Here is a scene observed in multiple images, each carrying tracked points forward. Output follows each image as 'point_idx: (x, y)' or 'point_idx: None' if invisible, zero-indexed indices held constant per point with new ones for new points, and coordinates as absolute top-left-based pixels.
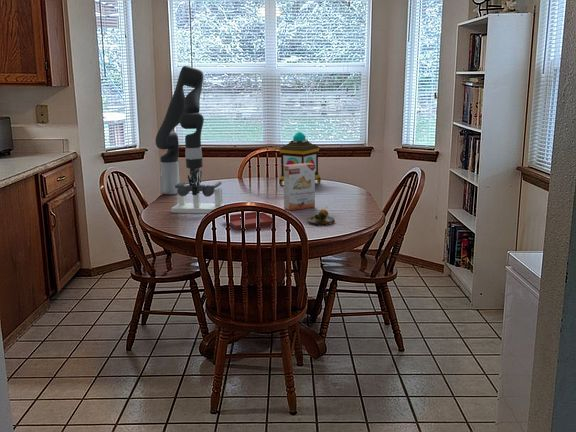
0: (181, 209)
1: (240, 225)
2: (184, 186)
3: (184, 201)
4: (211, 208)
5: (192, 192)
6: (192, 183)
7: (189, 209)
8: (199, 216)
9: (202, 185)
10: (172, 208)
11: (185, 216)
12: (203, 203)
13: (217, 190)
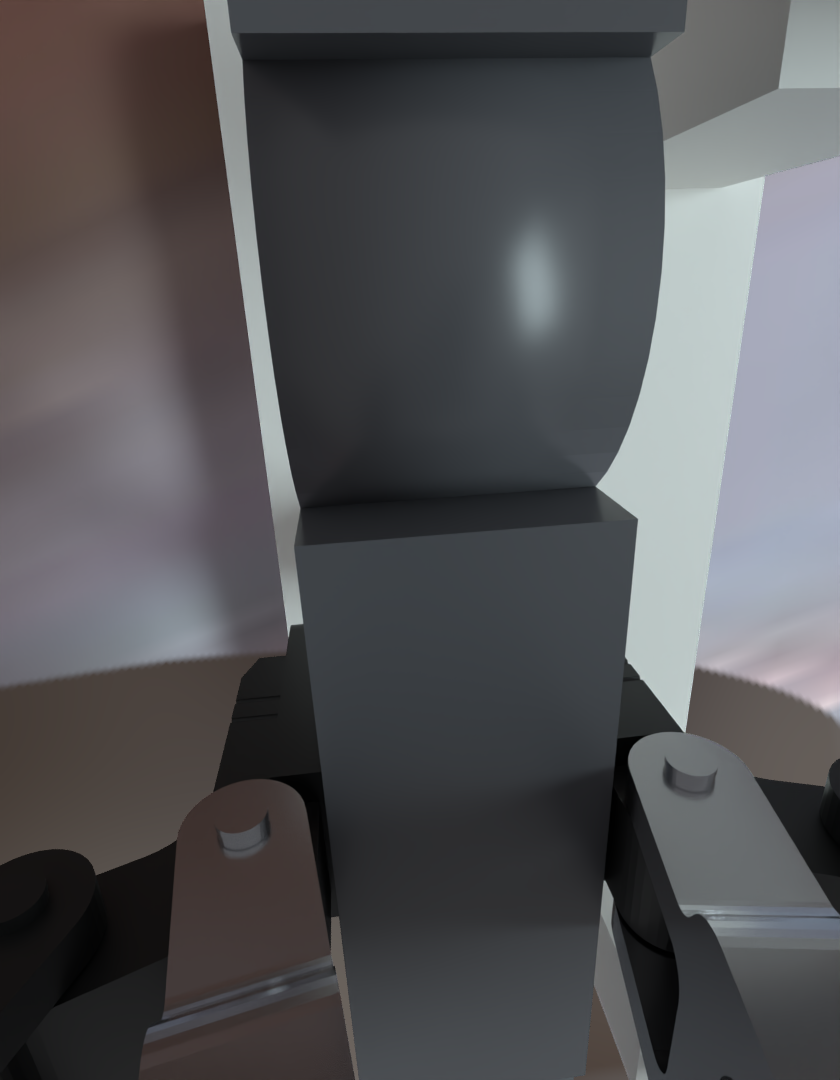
0: (240, 269)
1: None
2: (288, 426)
3: None
4: None
5: (239, 688)
6: (276, 950)
7: (265, 438)
8: (83, 664)
9: (450, 1068)
10: (208, 25)
11: (3, 458)
12: (686, 530)
13: (626, 1038)
